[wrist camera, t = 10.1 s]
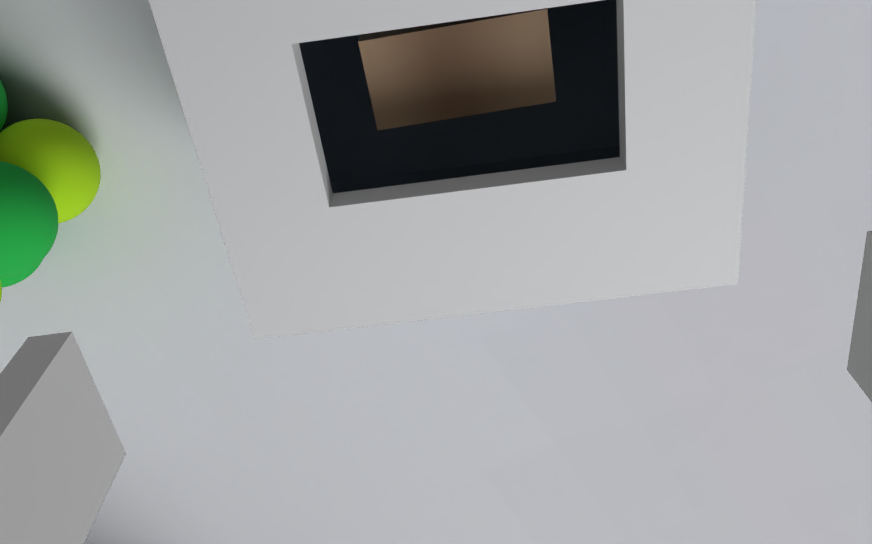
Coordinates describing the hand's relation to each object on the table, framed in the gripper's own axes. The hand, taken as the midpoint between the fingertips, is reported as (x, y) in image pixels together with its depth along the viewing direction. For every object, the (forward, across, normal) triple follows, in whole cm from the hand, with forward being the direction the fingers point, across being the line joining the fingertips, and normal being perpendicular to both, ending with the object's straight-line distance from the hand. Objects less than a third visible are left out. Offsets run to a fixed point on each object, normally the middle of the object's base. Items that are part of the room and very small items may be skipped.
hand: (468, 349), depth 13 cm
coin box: (+22, +1, +1) cm, 22 cm away
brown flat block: (+21, +1, +1) cm, 21 cm away
